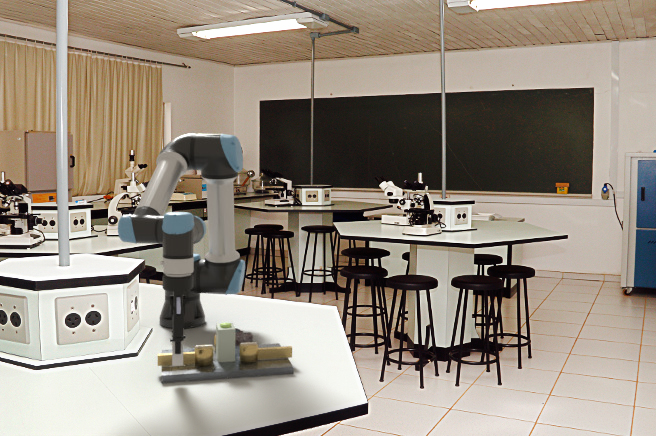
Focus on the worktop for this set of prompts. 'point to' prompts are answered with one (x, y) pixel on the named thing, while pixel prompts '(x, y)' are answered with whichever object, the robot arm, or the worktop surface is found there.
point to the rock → (242, 337)
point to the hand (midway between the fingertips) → (177, 364)
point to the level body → (225, 342)
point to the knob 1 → (191, 356)
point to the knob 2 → (262, 352)
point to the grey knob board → (226, 367)
